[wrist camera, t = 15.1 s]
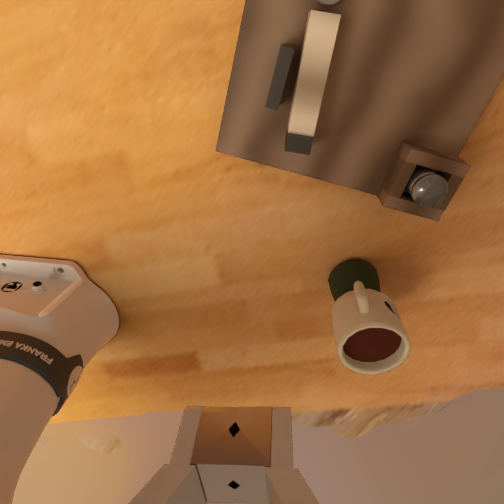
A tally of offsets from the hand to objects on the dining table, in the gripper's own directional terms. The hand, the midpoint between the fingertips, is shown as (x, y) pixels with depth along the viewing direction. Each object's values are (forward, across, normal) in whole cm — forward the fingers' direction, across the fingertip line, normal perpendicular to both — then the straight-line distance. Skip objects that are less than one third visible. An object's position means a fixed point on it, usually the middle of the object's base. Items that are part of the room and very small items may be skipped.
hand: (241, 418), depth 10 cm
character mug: (+33, -10, +18) cm, 39 cm away
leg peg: (+31, -15, +4) cm, 34 cm away
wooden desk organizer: (+33, -9, -6) cm, 35 cm away
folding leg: (+31, -4, -7) cm, 32 cm away
